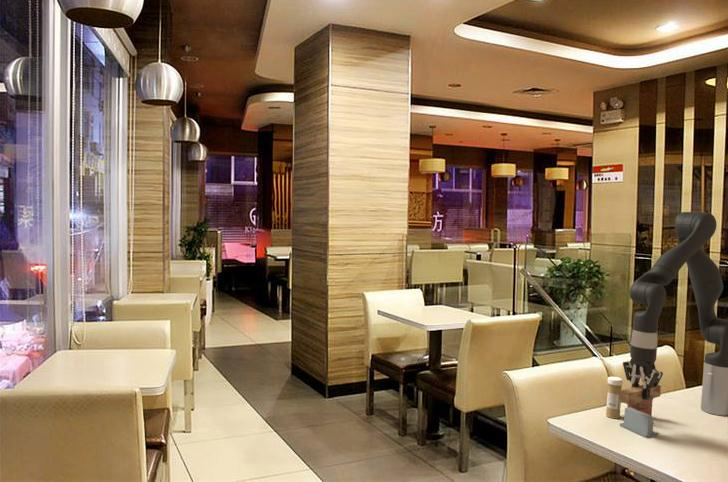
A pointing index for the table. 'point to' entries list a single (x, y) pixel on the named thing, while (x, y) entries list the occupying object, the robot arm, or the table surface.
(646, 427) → the fulcrum
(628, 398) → the walnut bar
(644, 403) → the lighter
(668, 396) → the table surface
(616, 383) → the sprinkles bottle
